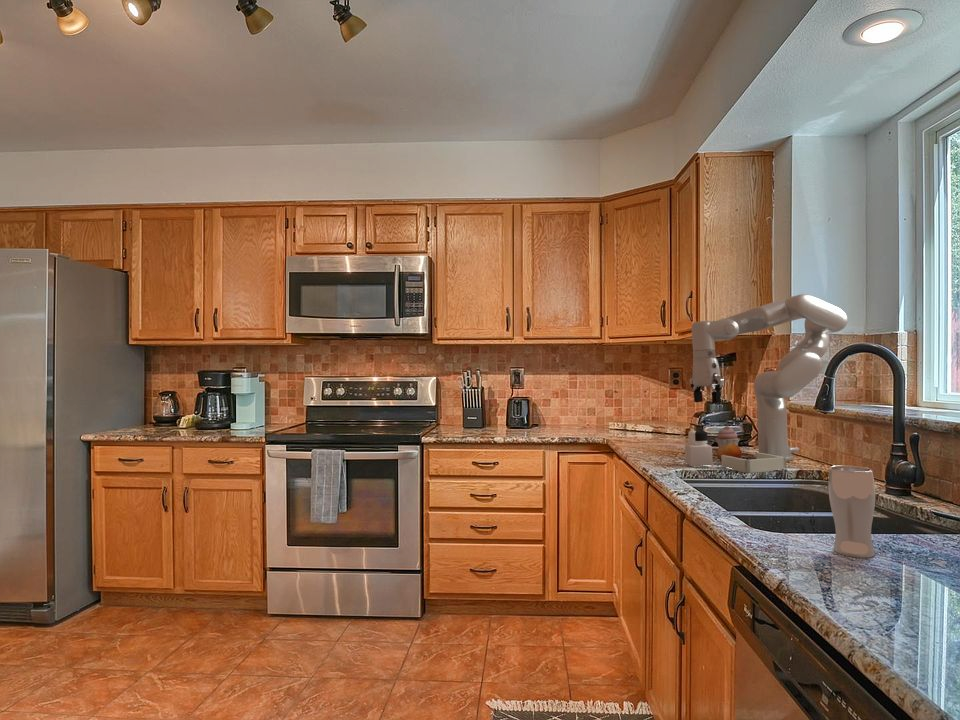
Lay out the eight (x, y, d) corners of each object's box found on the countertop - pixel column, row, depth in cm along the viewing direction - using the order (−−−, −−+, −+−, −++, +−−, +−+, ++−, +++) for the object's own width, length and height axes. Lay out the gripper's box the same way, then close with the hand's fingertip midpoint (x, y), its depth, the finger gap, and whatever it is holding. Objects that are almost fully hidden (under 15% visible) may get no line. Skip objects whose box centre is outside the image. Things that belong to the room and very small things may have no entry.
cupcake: (712, 451, 224) (711, 426, 224) (719, 448, 231) (718, 424, 232) (736, 452, 218) (735, 427, 218) (743, 449, 225) (742, 425, 226)
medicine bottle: (706, 463, 195) (705, 429, 196) (712, 467, 188) (711, 431, 189) (685, 463, 196) (684, 429, 196) (690, 467, 189) (689, 431, 189)
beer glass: (857, 561, 96) (853, 473, 96) (821, 549, 102) (818, 466, 103) (887, 556, 98) (883, 470, 98) (851, 544, 104) (847, 464, 105)
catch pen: (759, 464, 192) (758, 452, 192) (786, 469, 180) (786, 457, 180) (721, 467, 188) (721, 455, 188) (747, 473, 176) (747, 460, 176)
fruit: (749, 461, 189) (735, 441, 191) (728, 472, 191) (714, 452, 193) (746, 457, 197) (732, 438, 198) (725, 468, 199) (712, 449, 200)
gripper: (729, 353, 195) (733, 402, 195) (697, 355, 212) (700, 401, 211) (711, 354, 193) (715, 404, 193) (680, 356, 210) (683, 402, 209)
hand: (707, 402), depth 202 cm, fingers open, 9 cm apart
